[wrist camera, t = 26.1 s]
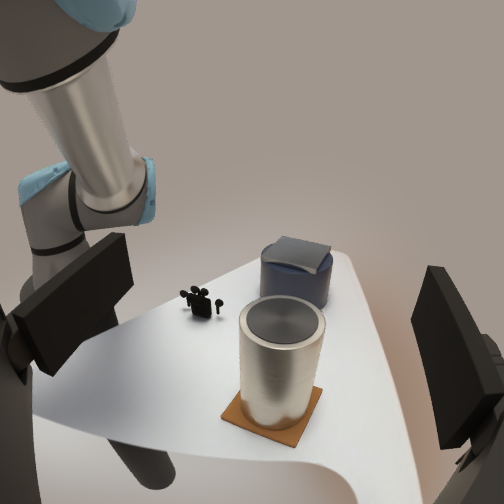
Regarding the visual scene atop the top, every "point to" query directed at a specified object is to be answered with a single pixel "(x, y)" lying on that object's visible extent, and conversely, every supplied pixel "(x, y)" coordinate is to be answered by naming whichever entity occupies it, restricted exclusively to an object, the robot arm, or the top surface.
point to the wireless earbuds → (200, 302)
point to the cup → (278, 359)
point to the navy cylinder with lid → (296, 270)
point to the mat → (281, 436)
